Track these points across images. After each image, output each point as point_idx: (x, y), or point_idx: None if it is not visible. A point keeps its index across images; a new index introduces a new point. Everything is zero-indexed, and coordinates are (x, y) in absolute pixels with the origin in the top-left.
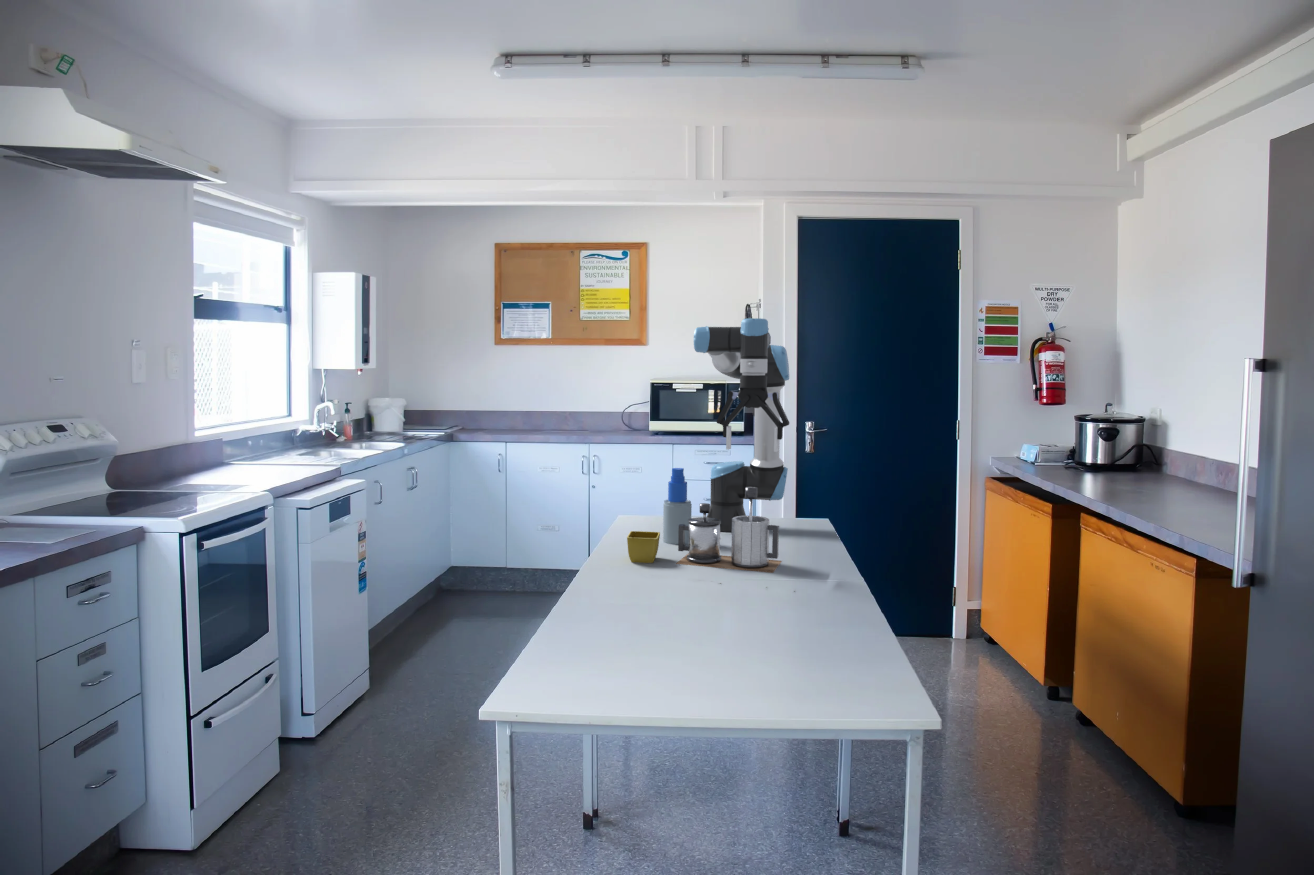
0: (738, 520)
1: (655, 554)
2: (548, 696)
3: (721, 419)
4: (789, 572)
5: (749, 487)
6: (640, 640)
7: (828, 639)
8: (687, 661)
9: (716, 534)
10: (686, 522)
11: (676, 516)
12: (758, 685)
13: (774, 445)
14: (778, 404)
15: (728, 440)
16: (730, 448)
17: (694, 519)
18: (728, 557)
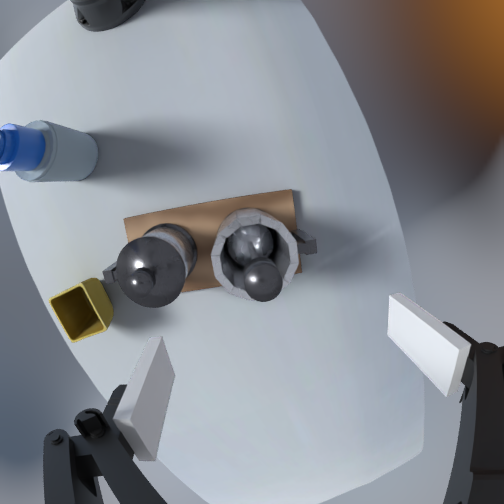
0: (236, 287)
1: (112, 315)
2: None
3: (96, 487)
4: (313, 223)
5: (257, 282)
6: (251, 474)
7: (385, 413)
8: (298, 479)
9: (186, 275)
10: (73, 160)
11: (54, 177)
12: (346, 476)
13: (402, 347)
14: None
15: (165, 403)
16: (165, 347)
17: (126, 273)
18: (196, 215)
